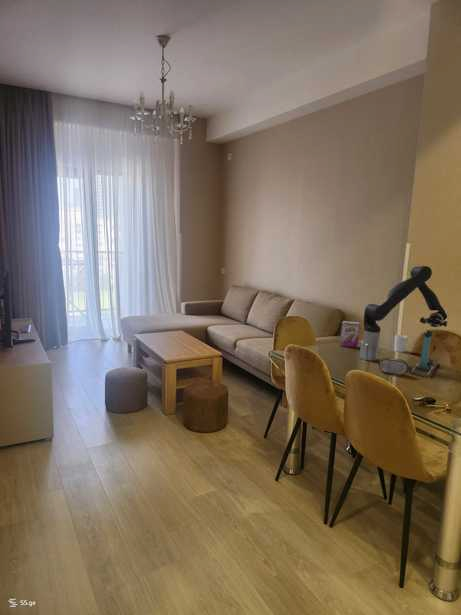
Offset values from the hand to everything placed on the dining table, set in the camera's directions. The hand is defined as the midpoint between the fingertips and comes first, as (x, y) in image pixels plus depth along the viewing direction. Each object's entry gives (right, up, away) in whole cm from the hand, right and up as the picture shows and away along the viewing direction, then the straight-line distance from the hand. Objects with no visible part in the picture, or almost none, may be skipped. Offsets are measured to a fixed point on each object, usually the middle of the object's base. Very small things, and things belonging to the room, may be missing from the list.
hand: (432, 323), depth 245 cm
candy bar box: (-36, -17, +42) cm, 58 cm away
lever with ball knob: (-6, -25, -3) cm, 26 cm away
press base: (-4, -26, +1) cm, 26 cm away
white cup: (-4, -20, +38) cm, 43 cm away
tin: (-27, -27, -12) cm, 40 cm away
